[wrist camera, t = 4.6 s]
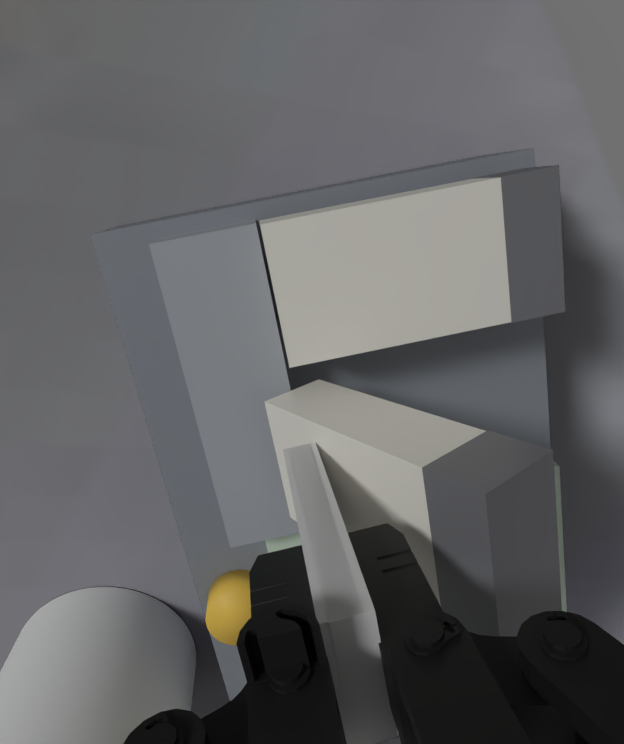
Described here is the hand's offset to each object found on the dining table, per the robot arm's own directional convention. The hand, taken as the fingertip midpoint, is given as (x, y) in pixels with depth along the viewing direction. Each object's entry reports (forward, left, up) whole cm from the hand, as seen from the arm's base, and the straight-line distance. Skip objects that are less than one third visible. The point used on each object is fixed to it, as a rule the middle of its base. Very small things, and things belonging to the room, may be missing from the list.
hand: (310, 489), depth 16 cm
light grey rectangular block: (0, 0, -3) cm, 3 cm away
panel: (+2, -4, -9) cm, 10 cm away
